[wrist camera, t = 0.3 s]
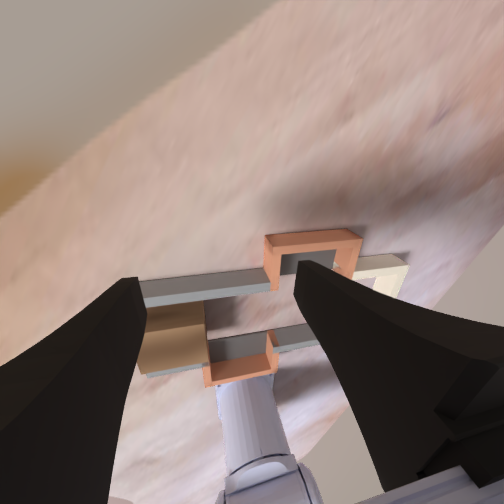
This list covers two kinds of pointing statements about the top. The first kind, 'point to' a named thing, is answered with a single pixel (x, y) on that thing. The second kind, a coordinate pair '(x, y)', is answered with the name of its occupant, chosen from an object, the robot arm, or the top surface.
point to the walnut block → (174, 337)
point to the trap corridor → (267, 279)
